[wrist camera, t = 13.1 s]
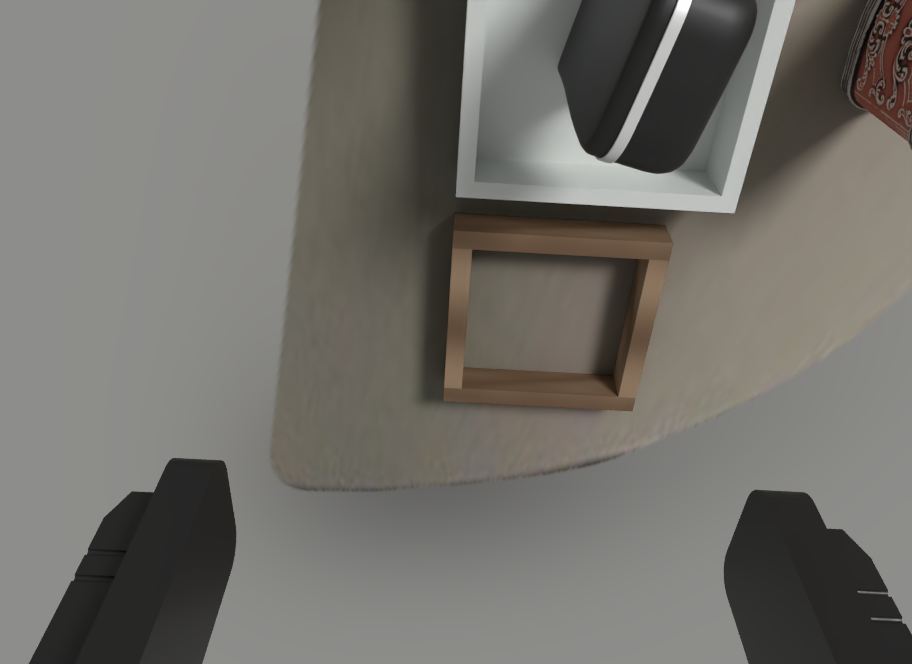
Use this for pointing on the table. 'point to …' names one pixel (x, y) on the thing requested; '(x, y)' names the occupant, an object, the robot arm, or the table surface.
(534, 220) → the brown flat square frame
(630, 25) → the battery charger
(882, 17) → the lighter
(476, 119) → the bin
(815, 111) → the table surface
